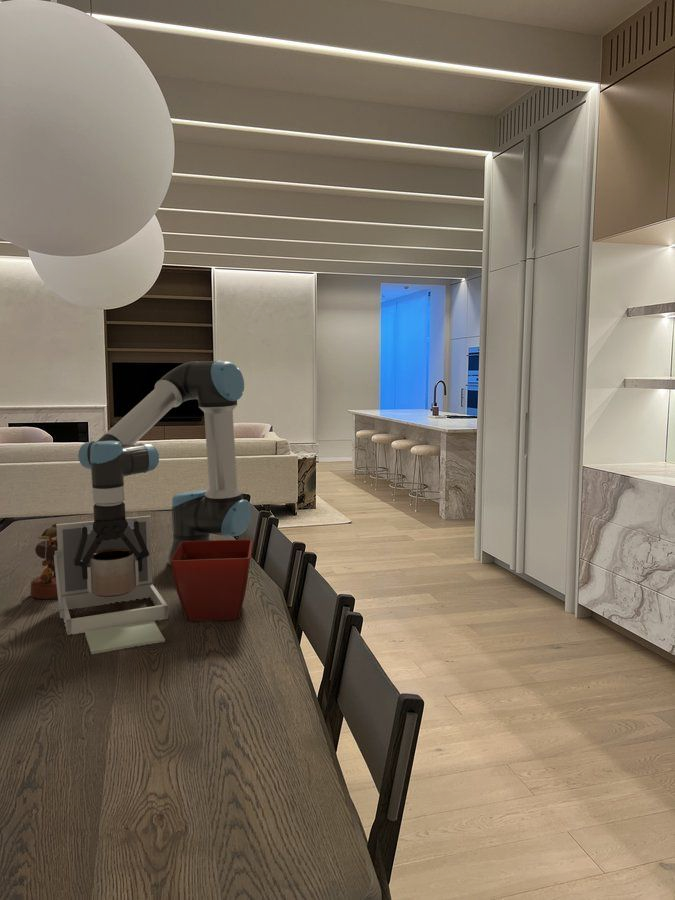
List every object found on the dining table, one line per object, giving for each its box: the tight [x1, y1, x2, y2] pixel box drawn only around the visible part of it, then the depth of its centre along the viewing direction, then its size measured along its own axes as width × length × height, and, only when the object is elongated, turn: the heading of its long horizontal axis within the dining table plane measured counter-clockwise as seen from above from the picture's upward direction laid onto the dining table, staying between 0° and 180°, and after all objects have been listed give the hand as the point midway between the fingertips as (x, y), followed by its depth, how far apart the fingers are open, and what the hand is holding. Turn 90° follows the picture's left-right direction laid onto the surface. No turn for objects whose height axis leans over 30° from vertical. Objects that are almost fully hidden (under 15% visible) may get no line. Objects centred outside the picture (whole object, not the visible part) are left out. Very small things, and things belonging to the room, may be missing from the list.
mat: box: [84, 620, 166, 655], centre depth 158 cm, size 16×13×1 cm
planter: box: [90, 549, 136, 597], centre depth 172 cm, size 11×11×10 cm
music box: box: [30, 522, 58, 600], centre depth 189 cm, size 15×11×20 cm
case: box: [54, 515, 169, 636], centre depth 172 cm, size 25×20×22 cm
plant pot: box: [170, 539, 253, 622], centre depth 174 cm, size 19×19×17 cm
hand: (113, 587), depth 173 cm, fingers closed on planter, 11 cm apart
